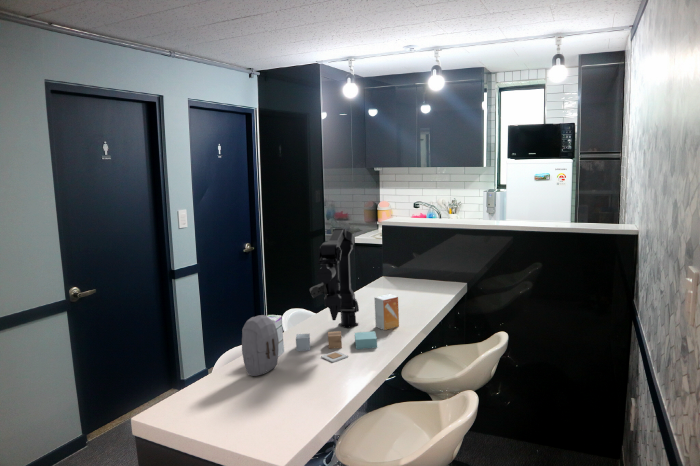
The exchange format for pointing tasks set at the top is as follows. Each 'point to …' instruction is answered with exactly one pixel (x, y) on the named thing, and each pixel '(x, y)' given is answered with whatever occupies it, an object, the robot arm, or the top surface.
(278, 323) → the syrup box
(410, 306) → the top surface
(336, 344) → the walnut cube
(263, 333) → the soft grey pack
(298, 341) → the grey cube
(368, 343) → the teal base block
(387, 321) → the small box
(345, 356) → the tile
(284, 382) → the top surface
